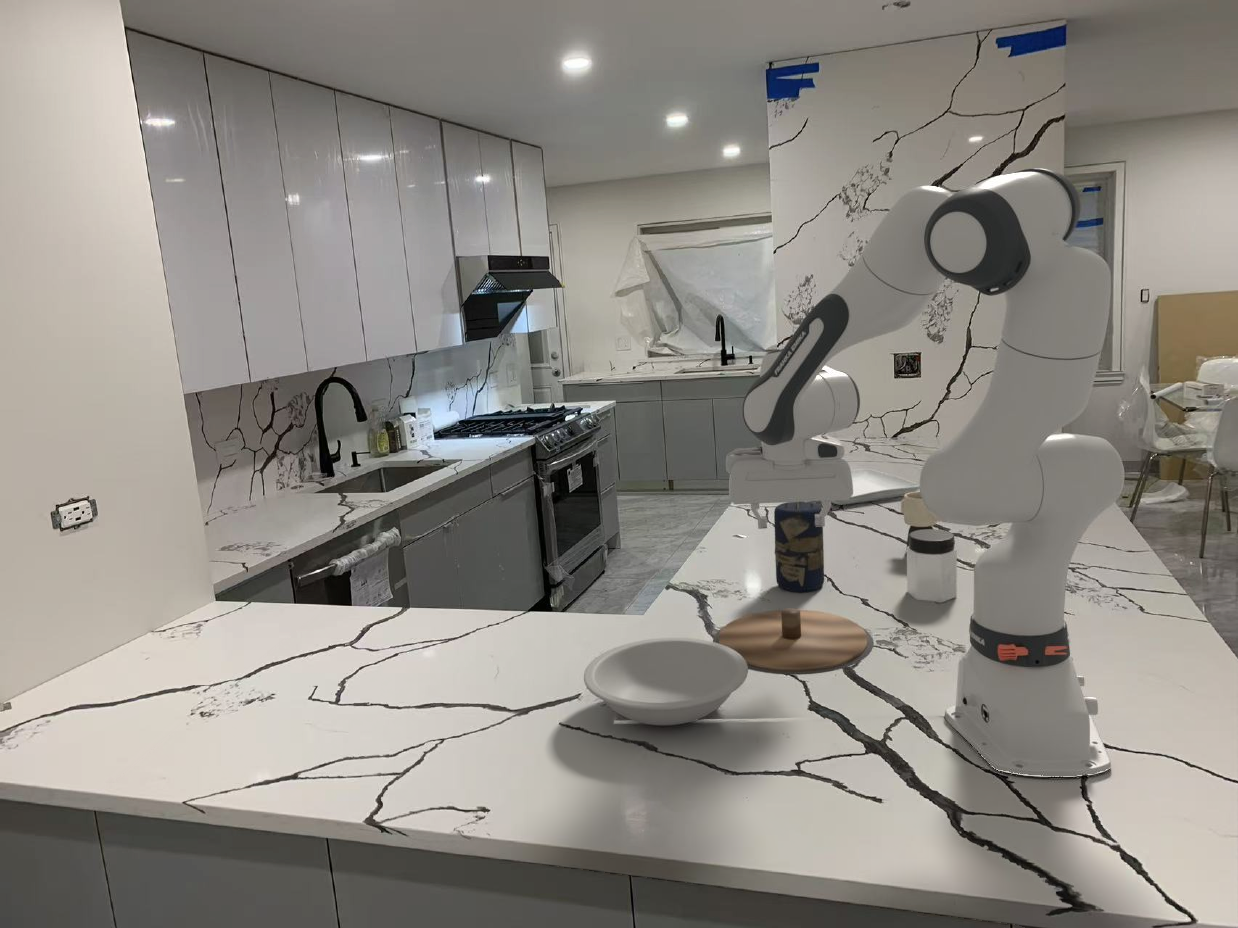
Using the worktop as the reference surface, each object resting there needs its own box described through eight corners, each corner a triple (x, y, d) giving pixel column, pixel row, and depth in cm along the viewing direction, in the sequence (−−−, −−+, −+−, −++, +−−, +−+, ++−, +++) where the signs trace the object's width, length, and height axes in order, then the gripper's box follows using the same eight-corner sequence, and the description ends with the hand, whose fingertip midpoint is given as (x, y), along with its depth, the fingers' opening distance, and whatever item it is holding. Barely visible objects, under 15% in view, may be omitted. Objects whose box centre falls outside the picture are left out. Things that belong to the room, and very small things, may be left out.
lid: (879, 669, 138) (879, 638, 137) (718, 673, 141) (717, 642, 140) (855, 611, 162) (854, 584, 161) (718, 615, 165) (717, 589, 164)
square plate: (787, 491, 261) (787, 478, 260) (868, 479, 269) (868, 466, 268) (836, 511, 235) (836, 496, 235) (924, 497, 243) (924, 483, 242)
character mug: (952, 554, 192) (952, 496, 189) (929, 561, 188) (929, 502, 186) (913, 544, 201) (912, 488, 199) (890, 550, 198) (890, 493, 195)
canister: (770, 592, 177) (766, 505, 173) (784, 577, 185) (781, 494, 181) (817, 597, 172) (814, 507, 169) (830, 581, 180) (827, 496, 177)
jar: (934, 606, 163) (934, 544, 161) (898, 595, 170) (898, 535, 168) (965, 594, 168) (965, 533, 166) (928, 584, 175) (928, 526, 172)
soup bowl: (652, 664, 147) (649, 626, 146) (780, 697, 132) (778, 656, 131) (553, 723, 129) (549, 681, 128) (688, 770, 114) (685, 723, 113)
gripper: (725, 452, 143) (728, 534, 146) (854, 446, 141) (855, 530, 144) (724, 445, 150) (728, 523, 152) (848, 439, 147) (849, 519, 150)
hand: (791, 526), depth 148 cm, fingers open, 8 cm apart
